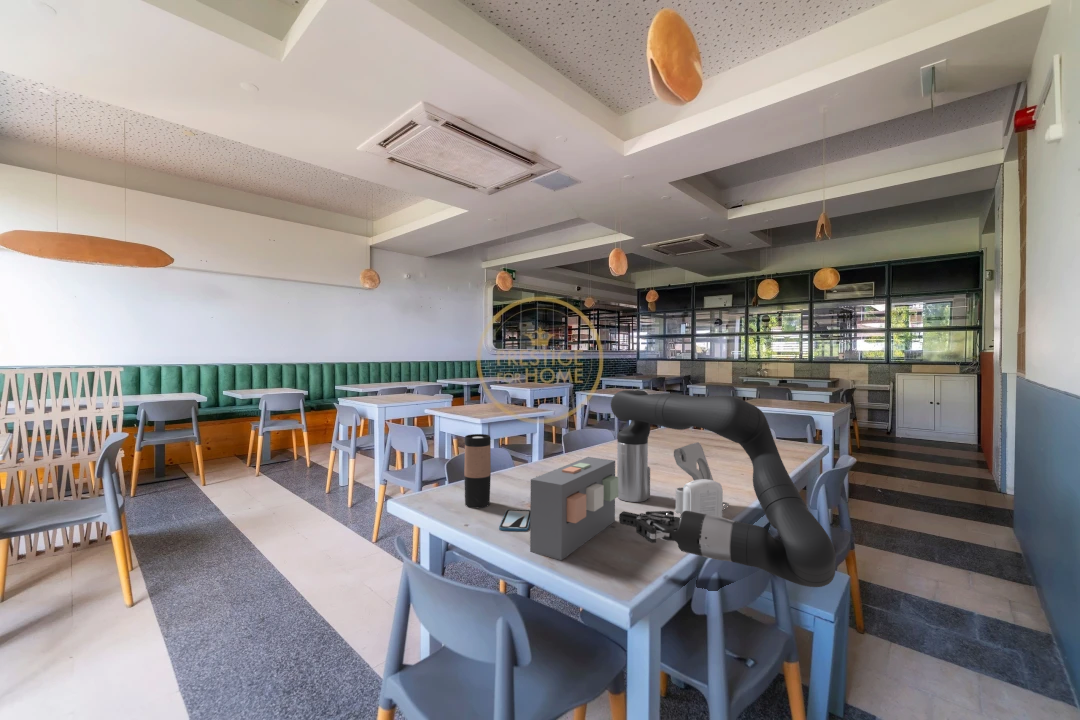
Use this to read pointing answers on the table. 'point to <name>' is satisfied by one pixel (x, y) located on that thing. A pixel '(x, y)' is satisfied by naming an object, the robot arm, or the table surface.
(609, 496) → the sage key
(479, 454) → the travel mug
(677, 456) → the phone holder
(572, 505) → the terracotta key
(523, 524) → the smartphone
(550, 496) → the keypad console
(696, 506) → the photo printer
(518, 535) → the table surface
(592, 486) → the white key
